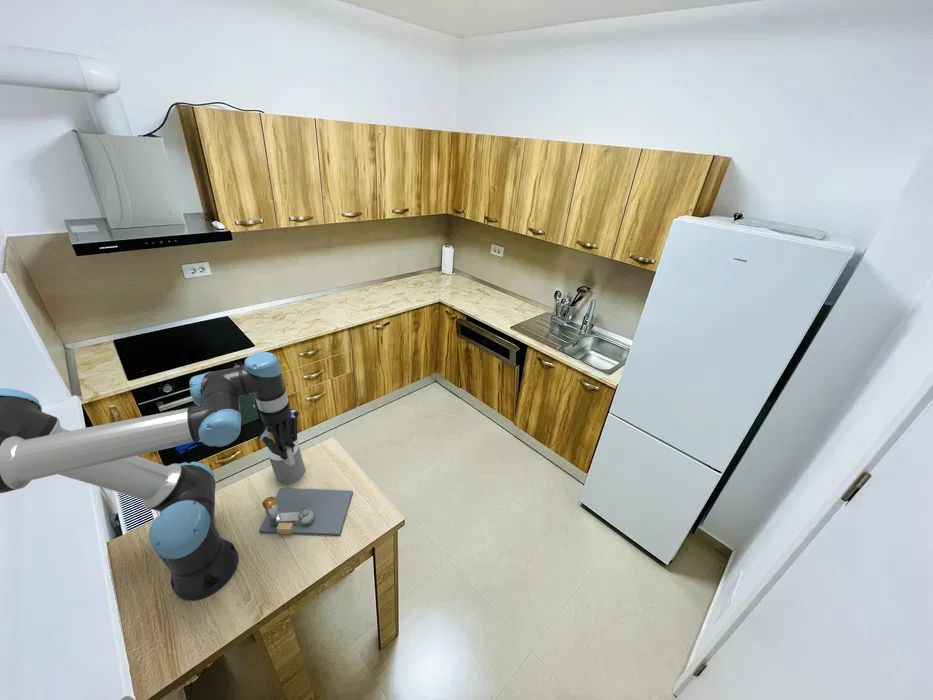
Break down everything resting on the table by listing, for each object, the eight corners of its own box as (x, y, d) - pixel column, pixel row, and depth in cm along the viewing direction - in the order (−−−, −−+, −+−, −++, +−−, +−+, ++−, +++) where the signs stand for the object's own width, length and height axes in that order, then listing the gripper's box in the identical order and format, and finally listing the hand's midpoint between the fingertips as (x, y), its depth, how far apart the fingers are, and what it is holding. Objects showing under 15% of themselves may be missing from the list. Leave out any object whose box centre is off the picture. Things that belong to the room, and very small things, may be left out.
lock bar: (316, 512, 116) (311, 493, 110) (313, 525, 112) (307, 506, 107) (272, 515, 114) (265, 495, 109) (268, 528, 111) (260, 509, 105)
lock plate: (258, 535, 110) (254, 524, 107) (280, 490, 123) (277, 479, 120) (339, 537, 111) (337, 527, 108) (352, 492, 124) (351, 482, 121)
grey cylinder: (270, 475, 128) (261, 450, 121) (294, 458, 135) (288, 434, 128) (286, 489, 124) (278, 465, 117) (311, 471, 130) (304, 447, 124)
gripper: (281, 387, 107) (295, 444, 119) (242, 415, 96) (263, 474, 109) (302, 394, 104) (314, 452, 117) (264, 424, 94) (283, 483, 107)
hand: (289, 462), depth 113 cm, fingers closed
